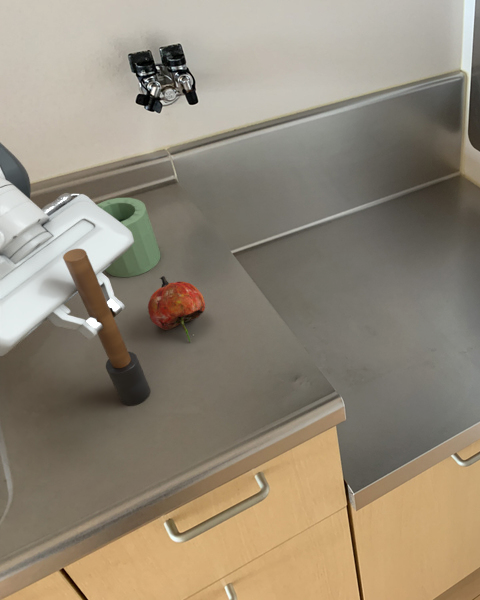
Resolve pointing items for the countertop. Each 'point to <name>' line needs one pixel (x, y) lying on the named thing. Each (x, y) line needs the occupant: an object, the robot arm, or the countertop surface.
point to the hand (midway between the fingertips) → (108, 323)
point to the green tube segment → (145, 244)
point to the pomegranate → (175, 304)
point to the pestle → (108, 331)
